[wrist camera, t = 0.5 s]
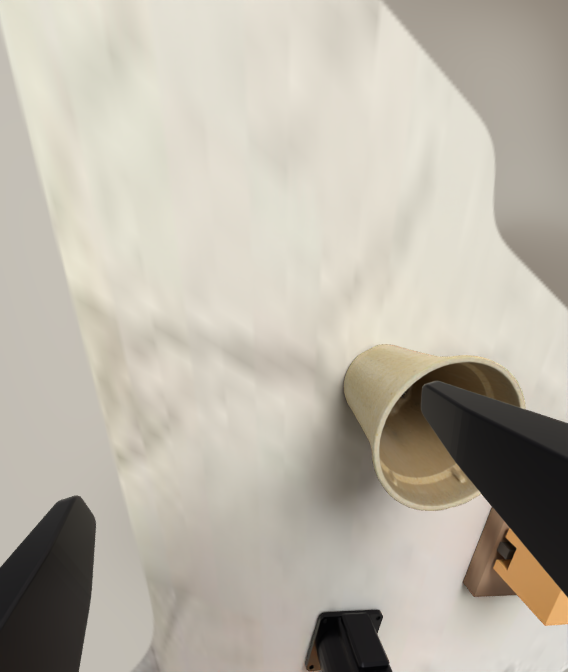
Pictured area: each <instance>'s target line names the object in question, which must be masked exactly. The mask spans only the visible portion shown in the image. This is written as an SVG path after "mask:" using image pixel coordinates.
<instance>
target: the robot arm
mask: <svg viewBox="0 0 568 672" xmlns="http://www.w3.org/2000/svg"><path fill="white" fill-rule="evenodd" d="M421 411H422V413H423V415H424V417H425V419H426V420H427V422H428V423H429V424H430V426H431V427H432V429H433V430H434V432H435V433H436V435H437V436H438V438H439V439H440V441H441V442H442V444H443V445H444V447H445V448H446V450H447V451H448V453H449V454H450V455H451V457H452V458H453V460H454V461H455V462H456V464H457V465H458V466H459V467H460V469H461V470H462V471H463V472H464V474H465V475H466V476H467V477H468V478H469V480H470V481H471V482H472V483H473V484H474V486H475V487H476V488H477V489H478V490H479V492H480V493H481V494H482V495H483V496H484V498H485V499H486V500H487V501H488V502H489V504H490V505H491V506H492V507H493V508H494V510H495V511H496V512H497V513H498V514H499V516H500V517H501V518H502V519H503V520H504V522H505V523H506V524H507V525H508V526H509V528H510V529H511V530H512V531H513V532H514V534H515V535H516V536H517V537H518V538H519V540H520V541H521V542H522V543H523V545H524V546H525V547H526V548H527V549H528V551H529V552H530V553H531V554H532V555H533V557H534V558H535V559H536V560H537V561H538V563H539V564H540V565H541V566H542V567H543V569H544V570H545V571H546V572H547V573H548V575H549V576H550V577H551V578H552V579H553V581H554V582H555V583H556V584H557V585H558V587H559V588H560V589H561V590H562V591H563V593H564V594H565V595H566V596H567V597H568V423H565V422H562V421H559V420H556V419H553V418H550V417H547V416H544V415H541V414H538V413H535V412H532V411H529V410H526V409H523V408H520V407H517V406H514V405H510V404H507V403H504V402H501V401H498V400H495V399H492V398H489V397H486V396H483V395H480V394H477V393H474V392H471V391H468V390H465V389H462V388H459V387H456V386H453V385H450V384H447V383H444V382H440V381H433V382H430V383H427V384H425V385H423V387H422V396H421ZM95 533H96V521H95V518H94V515H93V514H92V512H91V511H90V509H89V508H88V506H87V505H86V503H85V502H84V501H83V499H82V498H81V497H80V496H72V497H69V498H66V499H63V500H60V501H58V502H57V503H56V504H55V505H54V506H53V507H52V508H51V509H50V511H49V512H48V513H47V514H46V516H44V518H43V519H42V520H41V521H40V522H39V523H38V525H37V526H36V527H35V528H34V529H33V530H32V531H31V533H30V534H29V535H28V536H27V537H26V538H25V540H24V541H23V542H22V543H21V544H20V545H19V546H18V548H17V549H16V550H15V551H14V552H13V553H12V555H11V556H10V557H9V558H8V559H7V560H6V562H5V563H4V564H3V565H2V566H1V567H0V672H79V667H80V661H81V655H82V649H83V643H84V637H85V630H86V625H87V619H88V613H89V607H90V600H91V591H92V578H93V564H94V547H95ZM382 618H383V615H382V613H381V611H380V610H363V611H343V612H325V613H322V614H321V615H320V616H319V619H318V622H317V625H316V629H315V632H314V636H313V639H312V642H311V646H310V649H309V653H308V656H307V659H306V663H305V665H306V669H307V670H308V671H317V670H321V671H322V672H392V669H391V667H390V665H389V660H388V657H387V655H386V653H385V651H384V648H383V646H382V644H381V642H380V639H379V637H378V635H377V633H378V630H379V627H380V624H381V621H382Z"/></svg>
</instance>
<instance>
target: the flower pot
mask: <svg viewBox="0 0 568 672" xmlns="http://www.w3.org/2000/svg"><path fill="white" fill-rule="evenodd" d="M433 381H440V382H444V383H447V384H450V385H453V386H456V387H459V388H462V389H465V390H468V391H471V392H474V393H477V394H480V395H483V396H486V397H489V398H492V399H495V400H498V401H501V402H504V403H507V404H510V405H514V406H517V407H520V408H523V409H525V401H524V400H525V399H524V396H523V393H522V390H521V388H520V386H519V384H518V381H517V380H516V379H515V378H514V376H513V375H512V374H511V373H510V372H509V371H508V370H507V369H506V368H504V367H503V366H501V365H500V364H498V363H496V362H494V361H492V360H489V359H486V358H483V357H478V356H469V355H461V356H452V357H437V356H433V355H429V354H425V353H421V352H417V351H413V350H409V349H405V348H402V347H398V346H395V345H388V344H383V345H377V346H375V347H373V348H371V349H369V350H367V351H365V352H363V353H361V354H360V355H358V356H357V357H356V358H355V360H354V361H353V362H352V364H351V365H350V367H349V369H348V371H347V373H346V376H345V380H344V393H345V397H346V400H347V403H348V405H349V406H350V408H351V409H352V411H353V413H354V415H355V417H356V418H357V420H358V422H359V424H360V425H361V427H362V429H363V431H364V433H365V435H366V436H367V438H368V440H369V442H370V446H371V451H372V460H373V465H374V469H375V472H376V475H377V477H378V479H379V481H380V483H381V484H382V486H383V487H384V489H385V490H386V491H387V493H388V494H389V495H390V496H391V497H392V498H394V499H395V500H396V501H398V502H399V503H401V504H403V505H405V506H407V507H409V508H413V509H416V510H425V511H438V510H444V509H448V508H451V507H456V506H459V505H462V504H465V503H467V502H469V501H470V500H472V499H474V498H475V497H477V496H479V495H480V494H481V493H480V492H479V490H478V489H477V488H476V487H475V486H474V484H473V483H472V482H471V481H470V480H469V478H468V477H467V476H466V475H465V474H464V472H463V471H462V470H461V469H460V467H459V466H458V465H457V464H456V462H455V461H454V460H453V458H452V457H451V455H450V454H449V453H448V451H447V450H446V448H445V447H444V445H443V444H442V442H441V441H440V439H439V438H438V436H437V435H436V433H435V432H434V430H433V429H432V427H431V426H430V424H429V423H428V422H427V420H426V419H425V417H424V415H423V413H422V411H421V396H422V387H423V385H425V384H427V383H430V382H433ZM406 390H407V391H406ZM405 391H406V393H405V395H404V396H403V397H401V395H402V394H403V393H404V392H405Z"/></svg>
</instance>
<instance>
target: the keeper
mask: <svg viewBox="0 0 568 672" xmlns="http://www.w3.org/2000/svg"><path fill="white" fill-rule="evenodd" d="M506 538H507V539H508V540H509V541H510V542H511V543H512V544H513V545H514V546H515V547H516V548H517V549H516V551H515V554H514V556H513V558H512V559H505V560H496V562H495V565H494V567H493V569H494V570H495V571H496V572H497V573H498V574H499V575H500V576H501V578H502V579H503V580H504V581H505V582H506V583H507V584H508V585H509V586H510V588H511V589H512V590H513V591H514V592H515V593H516V594H517V595H518V596H519V598H520V599H521V600H522V601H523V602H524V603H525V604H526V605H527V606H528V608H529V609H530V610H531V611H532V612H533V613H534V614H535V615H536V616H537V618H538V619H539V620H540V621H541V622H542V623H543V624H544V625H545V626H548V625H562V624H568V597H567V596H566V595H565V594H564V593H563V591H562V590H561V589H560V588H559V587H558V585H557V584H556V583H555V582H554V581H553V579H552V578H551V577H550V576H549V575H548V573H547V572H546V571H545V570H544V569H543V567H542V566H541V565H540V564H539V563H538V561H537V560H536V559H535V558H534V557H533V555H532V554H531V553H530V552H529V551H528V549H527V548H526V547H525V546H524V545H523V543H522V542H521V541H520V540H519V538H518V537H517V536H516V535H515V534H514V532H513V531H512V530H511V529H509V530H508V533H507V535H506Z"/></svg>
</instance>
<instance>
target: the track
mask: <svg viewBox="0 0 568 672" xmlns="http://www.w3.org/2000/svg"><path fill="white" fill-rule="evenodd" d="M509 529H510V528H509V526H508V525H507V524H506V523H505V522H504V520H503V519H502V518H501V517H500V516H499V514H498V513H497V512H496V511H495V510H494V508H493V507H492V509H491V512H490V514H489V517H488V519H487V522H486V524H485V527H484V530H483V532H482V535H481V537H480V540H479V542H478V545H477V548H476V550H475V553H474V555H473V558H472V560H471V563H470V566H469V568H468V571H467V573H466V576H465V578H464V581H463V583H464V585H465V586H466V587H467V589H468V590H469V591H470V592H471V594H472V595H473V596H474V597H482V596H506V595H517V594H516V593H515V592H514V591H513V590H512V589H511V588H510V586H509V585H508V584H507V583H506V582H505V581H504V580H503V579H502V578H501V576H500V575H499V574H498V573H497V572H496V571H495V570H494V569H493V567H494V565H495V562H496V560H505V559H512V558H513V556H514V554H515V551H516V549H517V548H516V547H515V546H514V545H513V544H512V543H511V542H510V541H509V540H508V539H507V538H506V535H507V533H508V530H509Z"/></svg>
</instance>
